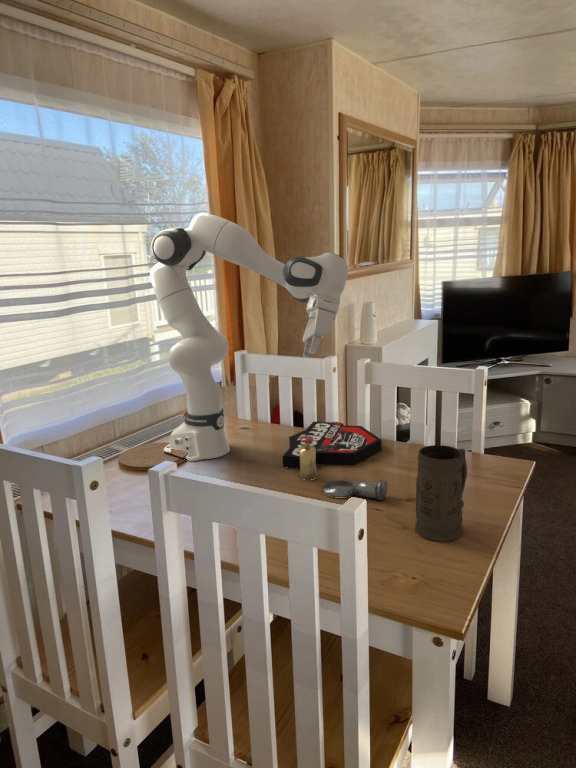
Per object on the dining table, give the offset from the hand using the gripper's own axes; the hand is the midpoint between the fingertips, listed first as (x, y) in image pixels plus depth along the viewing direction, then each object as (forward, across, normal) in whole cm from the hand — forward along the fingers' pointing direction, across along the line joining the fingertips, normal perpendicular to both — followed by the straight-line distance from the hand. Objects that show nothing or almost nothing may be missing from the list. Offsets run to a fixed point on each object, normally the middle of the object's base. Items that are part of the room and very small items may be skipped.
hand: (308, 355), depth 164 cm
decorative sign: (+24, -23, +20) cm, 39 cm away
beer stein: (+34, +30, +38) cm, 59 cm away
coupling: (+34, +9, +21) cm, 41 cm away
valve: (+34, -5, +10) cm, 35 cm away
